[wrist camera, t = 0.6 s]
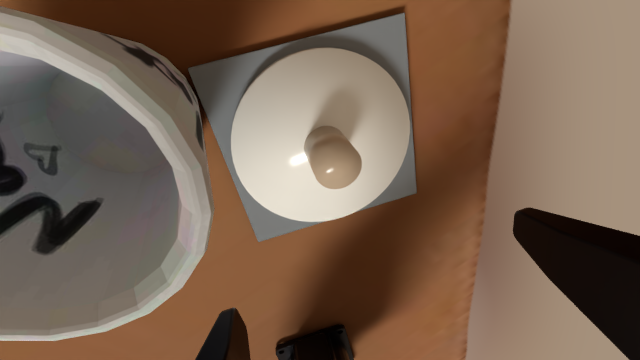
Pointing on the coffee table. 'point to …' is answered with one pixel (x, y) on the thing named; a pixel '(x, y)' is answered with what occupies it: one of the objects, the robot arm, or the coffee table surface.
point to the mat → (239, 71)
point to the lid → (319, 134)
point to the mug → (94, 180)
